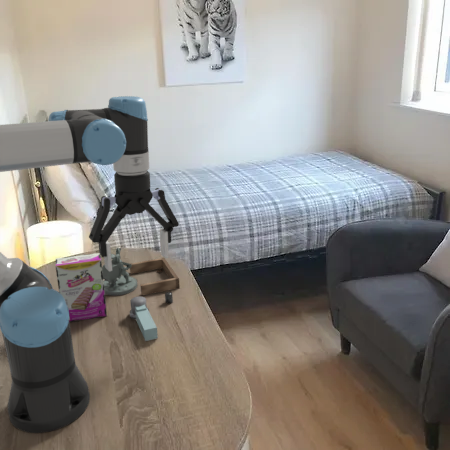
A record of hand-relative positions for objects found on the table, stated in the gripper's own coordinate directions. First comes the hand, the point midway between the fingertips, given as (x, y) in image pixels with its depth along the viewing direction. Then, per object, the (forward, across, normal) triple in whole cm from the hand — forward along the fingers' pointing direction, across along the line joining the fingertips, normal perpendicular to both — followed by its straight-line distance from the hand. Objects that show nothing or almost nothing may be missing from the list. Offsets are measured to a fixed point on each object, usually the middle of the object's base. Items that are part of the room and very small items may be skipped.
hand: (137, 262), depth 114 cm
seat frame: (+19, +14, +27) cm, 36 cm away
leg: (+19, +3, +5) cm, 20 cm away
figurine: (+20, +5, +28) cm, 35 cm away
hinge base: (+20, +7, +11) cm, 24 cm away
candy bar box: (+20, -8, +18) cm, 28 cm away
